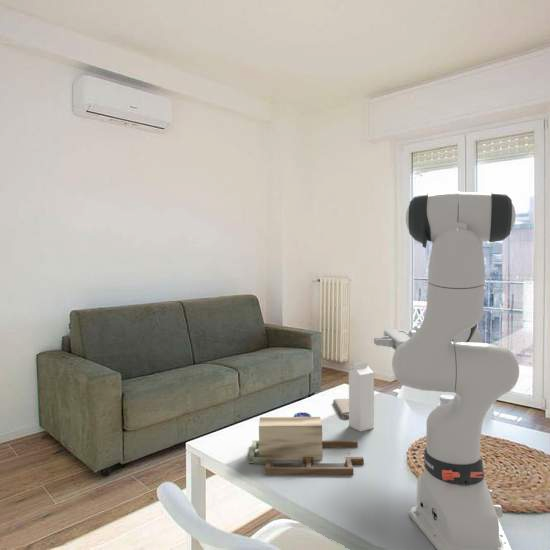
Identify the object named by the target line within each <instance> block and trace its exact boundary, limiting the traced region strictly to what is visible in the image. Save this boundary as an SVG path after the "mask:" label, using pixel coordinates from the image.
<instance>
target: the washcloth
mask: <svg viewBox="0 0 550 550" xmlns="http://www.w3.org/2000/svg"><path fill="white" fill-rule="evenodd" d="M332 403H333V405H334V404H335V405H336V406H335V405H334V406H335V408H336V407H337V408H336V409H338V410H337V411H338V413H339V412H340V413H339V414H340V416H341V419H342V420H343V419H348V420H349V398H334V399H333V400H332Z"/></svg>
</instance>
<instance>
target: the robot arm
mask: <svg viewBox="0 0 550 550" xmlns="http://www.w3.org/2000/svg"><path fill="white" fill-rule="evenodd" d="M512 201H513V200H512V198H511V197H510V196H508V194H506V193H501V192H491V193H485V192H467V191H466V192H465V191H464V192H463V191H461V192H460V191H448V192H447V191H446V192H439V193H433V194H429V193H424V194H419V195H416V196H414V197H413V198H412V199H411V200H410V201H409V205H408V207H407V208H406V209H407V210H406V213H405V223H406V227H407V230H408V234H409V235H410V236H411V237H412V238H413V240H415V241H416V242H418V243H420V244H422V248H424V249H427V243H428V242H430V243H432V246H431V252H430V255H429V256H430V257H429V261H428V274H427V275H428V276H427V298H426V299H427V300H426V308H425V312H424V313H425V314H424V316H423V317H424V318H423V321H422V323H421V324H420V325H416V326H414V328H413V329H412V330H406V329H384V330H383V336H380V337H374V338H373V343H374V345H375V346H377V347H381V346H382V347H387V348H392V349H393V350H394V353H393V356H392V360H391V367H392V372H393V375H394V377H395V378H396V380H397V382H399V383H400V384H401V386H404V387H407V388H412V389H415V390H419V391H422V392H423V391H426V392H439V393H441V392H442V393H454V394H455V396H454V398H453V399H452V400H451V401H450V402H449V403H447V404H444V405H442V406H439V407H437V406H436V408H434V409H433V410H432V411H431V412H430V413H429V414H428V416H427V418H426V432H425V433H426V447H425V448H424V454H423V462H424V463H423V464H424V465H423V466H424V470H423V471H422V473H421V474H420V475H419V476H418V477H417V483H416V484H417V485H416V486H417V487H416V498H415V499H416V501H415V506H413V507H411V508H410V509H409V512H408V515H409V517H411V519H412V520H413V521H414V523H415V524H416V526H418V528H419V529H420V530H421V531H422V533H423V534H424V535H425V536H426V538H427V539H428V540H429V542H430V543H431V544H432V545H433V546H434V547H435V550H513V548H512V546H511V544H510V542H509V540H508V537H507V535H506V532H505V531H504V528H503V526H502V523H501V522H500V519H499V518H503V508H502V505H500V504H494V502H493V500H492V499H493V497H494V492H493V490H492V489H489V487H488V485H487V482H486V478H485V472H484V471H485V468H484V463H483V458H482V456H481V440H482V439H481V437H482V430H483V428H482V427H483V422H484V420H485V417H486V416H487V413H488V411H489V410H490V408H491V407H492V406H493V405H494V404H495V402H496V401H497V400H498V399H500V398H501V397H503V396H504V395H506V394H507V393H510V392H511V391H513V389H514V387H515V386H516V384H517V382H518V380H519V378H520V377H519V376H520V366H519V363H518V360H517V357H516V356H515V355H514V353H513V352H512V350H510V349H509V348H508V347H506V346H501V345H496V344H494V343H487V342H483V337H482V336H483V335H482V333H481V331H480V329H479V328H478V323H480V321H481V320H482V318H483V316H484V309H485V308H484V304H485V303H484V302H485V282H486V280H485V279H486V273H485V272H486V269H485V268H486V267H485V256H484V249H483V245H484V244H483V243H484V242H489V243H494V242H500V241H504V240H505V239H506V238H508V237H509V236H510V234H511V231H512V230H513V229H514V226H515V224H516V223H515V222H516V217H517V215H516V208H515V206H514V204H513V202H512Z"/></svg>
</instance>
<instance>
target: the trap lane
mask: <svg viewBox="0 0 550 550" xmlns="http://www.w3.org/2000/svg"><path fill="white" fill-rule="evenodd" d="M256 446H259V440H252V443H251V447H250V452H249V457H248V464H249V463H254V464H253V465H257V464H256V463H259V464H258V465H265V467H264V469H265V470H264V474H265V475H305V476H306V475H309V476H310V475H312V476H314V475H317V476H318V475H322V476H323V475H324V476H326V475H327V476H329V475H330V476H331V475H333V476H334V475H335V476H336V475H337V476H338V475H346V476H347V475H348V476H349V475H352V476H353V475H354V466H353V465H365V462H364V461H365V458H364V457H363V456H345V463H342V462H341V463H340V462H339V463H338V462H337V463H336V462H335V463H334V462H333V463H331V462H327V463H323V462H322V463H320V462H316V463H315V460H314V458H313V457H303V460H302V464H301V462H292V463H291V462H285V463H284V462H283V463H282V462H273V463H272V460H271V457H259V456H255V455H256V451H257V447H256ZM358 447H359V442H358V440H322V448H358ZM255 450H256V451H255ZM254 456H255V457H254ZM271 463H272V464H271ZM314 464H315V466H312V465H314ZM302 465H306V466H302ZM345 465H346V466H345Z"/></svg>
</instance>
